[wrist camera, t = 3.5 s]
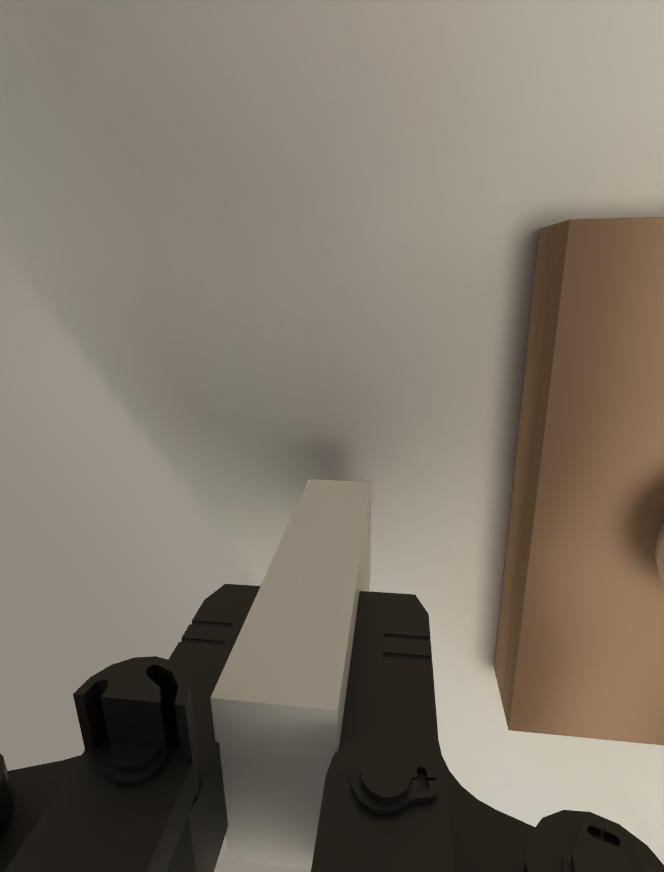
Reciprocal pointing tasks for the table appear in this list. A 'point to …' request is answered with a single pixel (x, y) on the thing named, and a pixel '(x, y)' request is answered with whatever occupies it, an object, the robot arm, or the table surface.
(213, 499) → the table surface
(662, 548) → the ball
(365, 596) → the robot arm
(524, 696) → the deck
